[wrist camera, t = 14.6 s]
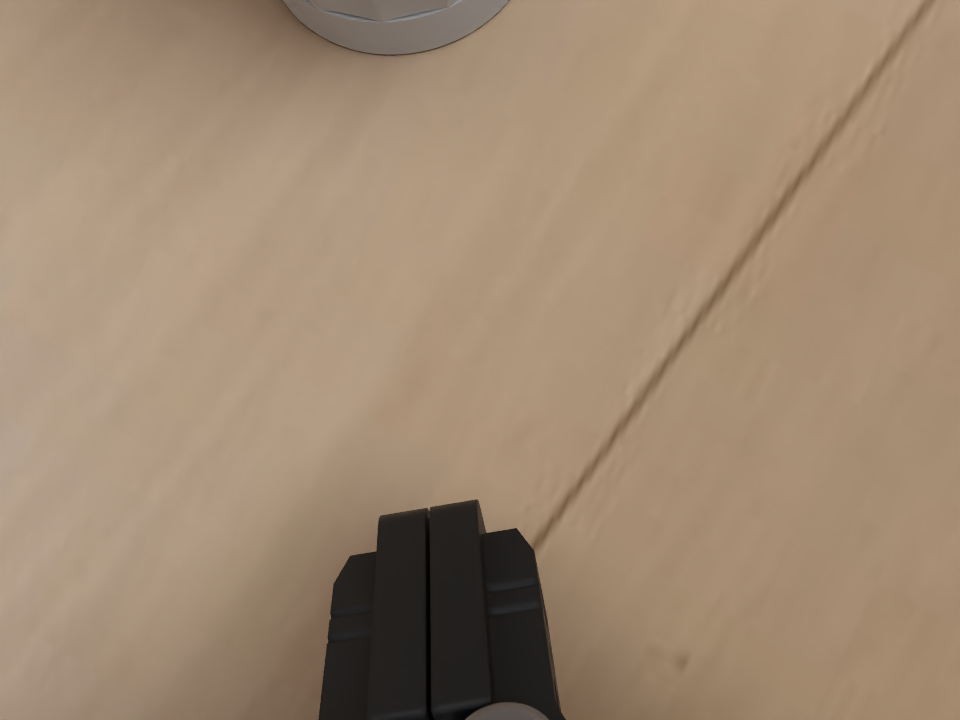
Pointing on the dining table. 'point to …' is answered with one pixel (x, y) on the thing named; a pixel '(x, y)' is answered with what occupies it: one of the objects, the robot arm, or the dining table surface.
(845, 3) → the dining table surface
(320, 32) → the cup
